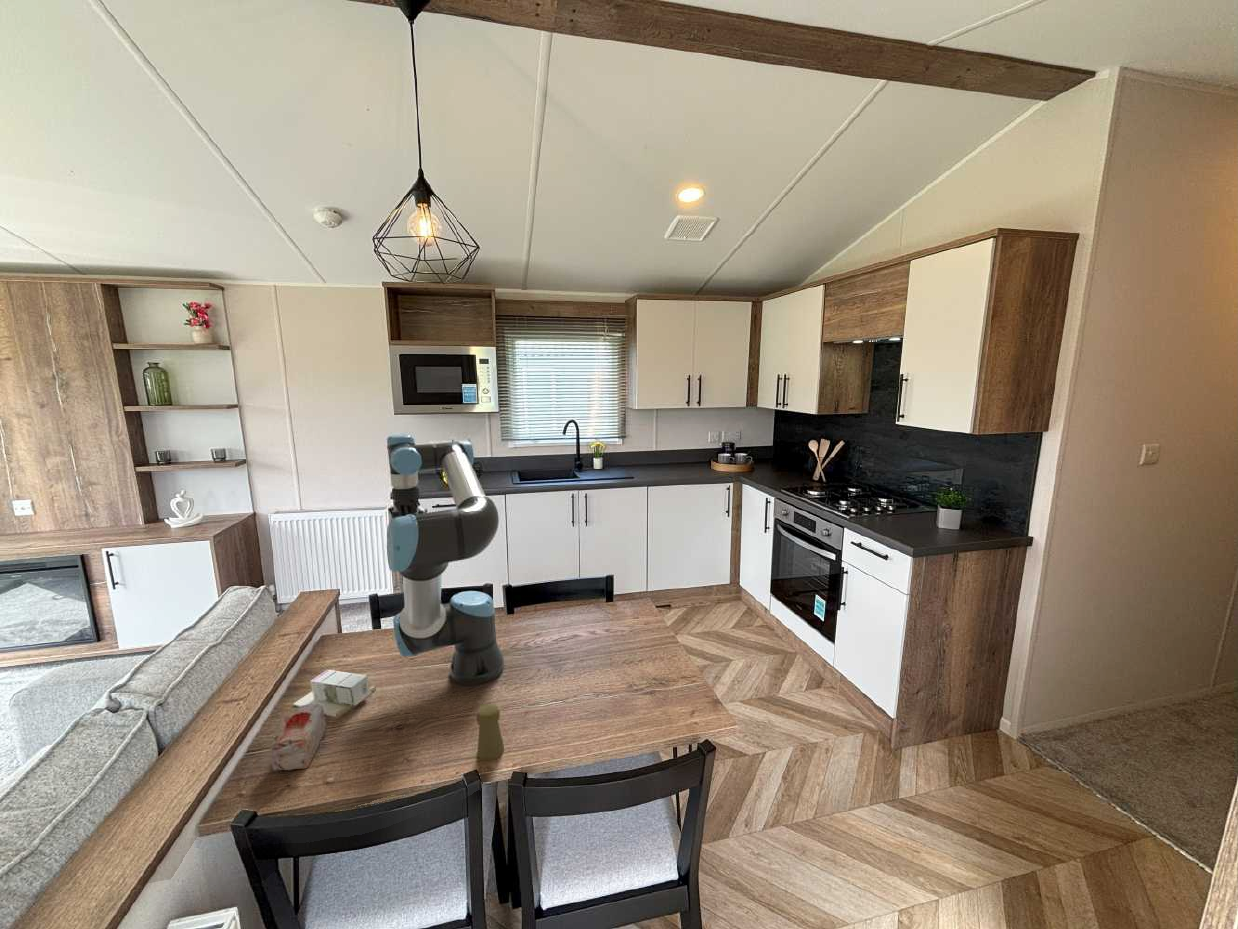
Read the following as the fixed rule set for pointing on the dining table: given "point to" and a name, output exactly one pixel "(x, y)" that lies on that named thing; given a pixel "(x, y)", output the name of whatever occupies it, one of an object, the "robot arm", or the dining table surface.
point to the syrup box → (340, 687)
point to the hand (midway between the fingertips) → (412, 559)
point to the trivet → (327, 705)
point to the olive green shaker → (489, 733)
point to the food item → (298, 738)
